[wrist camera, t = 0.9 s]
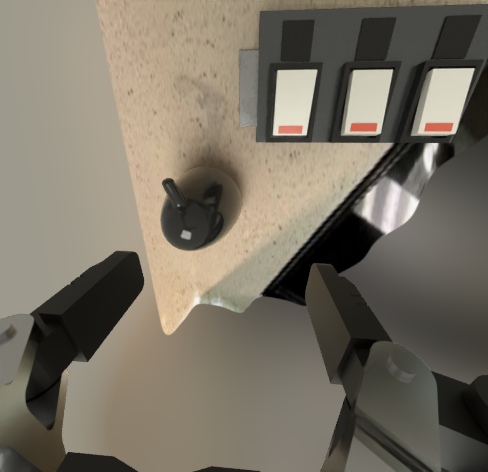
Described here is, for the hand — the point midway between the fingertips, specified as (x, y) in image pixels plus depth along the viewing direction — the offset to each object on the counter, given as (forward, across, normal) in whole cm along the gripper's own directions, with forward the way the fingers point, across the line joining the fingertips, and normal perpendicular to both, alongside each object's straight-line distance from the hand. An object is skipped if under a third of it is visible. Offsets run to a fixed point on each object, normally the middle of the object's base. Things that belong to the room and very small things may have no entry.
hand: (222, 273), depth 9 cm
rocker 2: (+19, -21, -10) cm, 30 cm away
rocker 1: (+19, -5, -9) cm, 22 cm away
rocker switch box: (+24, -13, -12) cm, 30 cm away
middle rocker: (+19, -13, -10) cm, 25 cm away
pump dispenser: (+24, +6, +3) cm, 25 cm away
